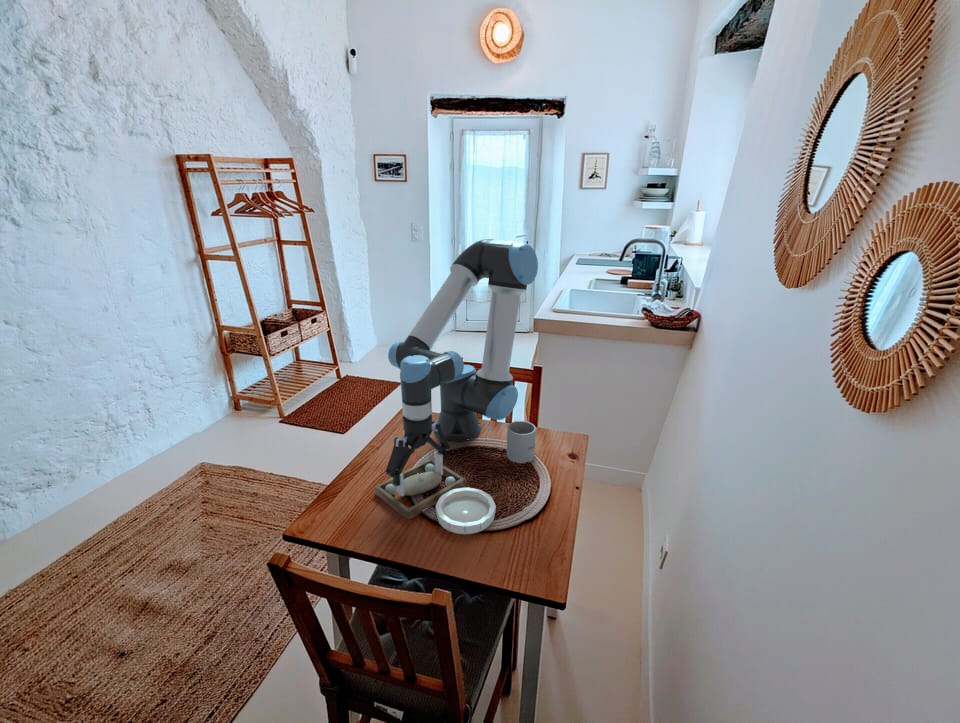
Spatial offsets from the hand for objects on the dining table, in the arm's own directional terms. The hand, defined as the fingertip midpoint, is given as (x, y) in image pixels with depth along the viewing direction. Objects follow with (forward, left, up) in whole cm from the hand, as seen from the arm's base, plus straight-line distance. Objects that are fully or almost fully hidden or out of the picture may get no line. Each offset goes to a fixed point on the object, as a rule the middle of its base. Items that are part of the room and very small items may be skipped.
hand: (420, 483), depth 130 cm
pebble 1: (+7, -5, -2) cm, 9 cm away
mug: (-35, +8, -3) cm, 36 cm away
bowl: (-2, +16, -2) cm, 16 cm away
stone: (0, 0, -3) cm, 3 cm away
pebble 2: (-7, +4, -2) cm, 9 cm away
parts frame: (0, 0, -2) cm, 2 cm away
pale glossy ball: (-7, -5, -2) cm, 9 cm away
